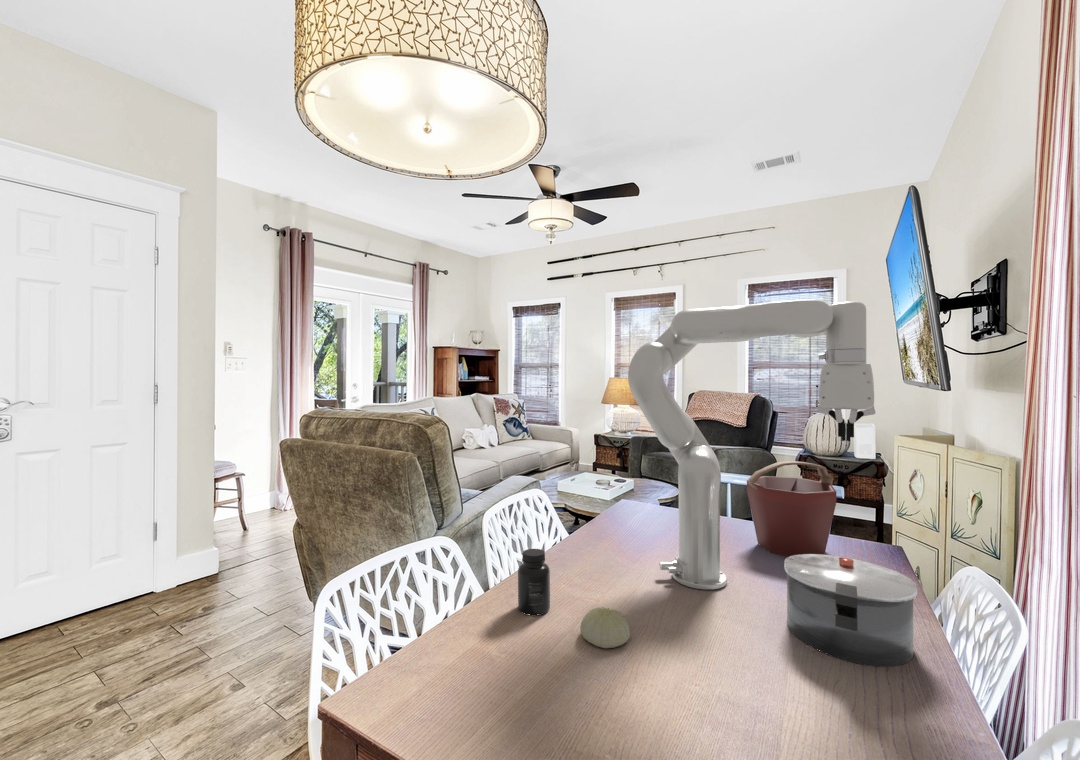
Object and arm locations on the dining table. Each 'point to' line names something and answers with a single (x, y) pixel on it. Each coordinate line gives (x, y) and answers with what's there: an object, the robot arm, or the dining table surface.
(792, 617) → the cooker pot
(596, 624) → the sea urchin shell
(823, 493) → the bucket
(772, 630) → the dining table surface
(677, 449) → the robot arm
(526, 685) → the dining table surface
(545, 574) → the supplement bottle
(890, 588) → the cooker lid
